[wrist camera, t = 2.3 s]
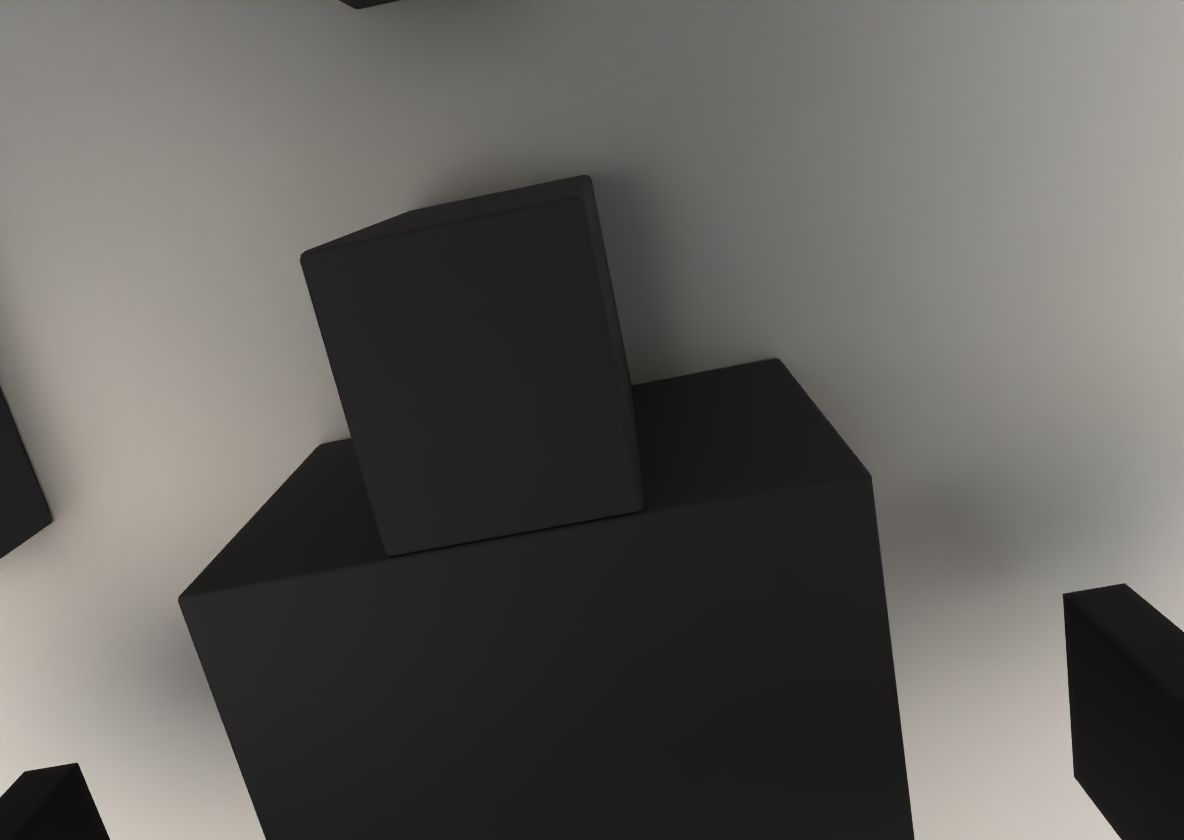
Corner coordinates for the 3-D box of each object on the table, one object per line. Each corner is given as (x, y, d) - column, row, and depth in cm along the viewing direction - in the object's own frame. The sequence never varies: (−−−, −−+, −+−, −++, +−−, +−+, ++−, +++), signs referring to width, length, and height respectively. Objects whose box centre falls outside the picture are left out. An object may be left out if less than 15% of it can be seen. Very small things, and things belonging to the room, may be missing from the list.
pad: (748, 140, 14) (834, 142, 9) (830, 713, 17) (930, 966, 12) (255, 242, 15) (63, 300, 10) (419, 781, 18) (341, 1049, 13)
